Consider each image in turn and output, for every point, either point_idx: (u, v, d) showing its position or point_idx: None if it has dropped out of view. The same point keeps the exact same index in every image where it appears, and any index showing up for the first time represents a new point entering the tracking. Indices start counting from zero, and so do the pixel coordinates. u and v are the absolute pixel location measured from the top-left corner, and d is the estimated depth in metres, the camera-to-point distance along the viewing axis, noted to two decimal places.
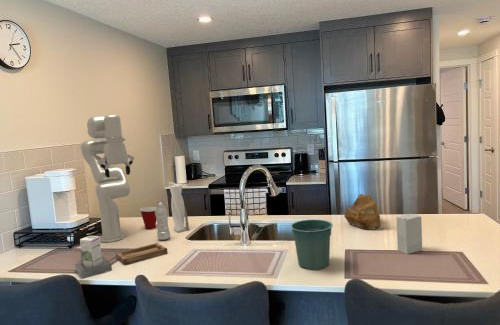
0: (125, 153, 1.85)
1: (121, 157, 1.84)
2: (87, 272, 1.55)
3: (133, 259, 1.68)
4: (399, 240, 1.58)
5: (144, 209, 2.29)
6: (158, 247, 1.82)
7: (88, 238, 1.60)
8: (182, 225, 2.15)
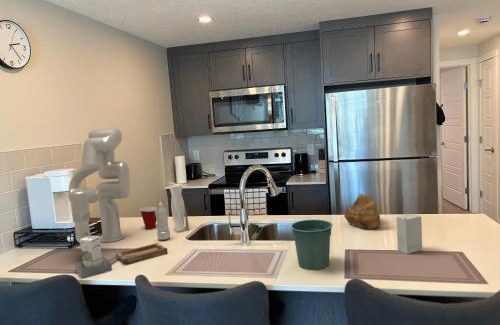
0: None
1: None
2: (87, 272, 1.55)
3: (133, 259, 1.68)
4: (399, 240, 1.58)
5: (144, 209, 2.29)
6: (158, 247, 1.82)
7: (88, 238, 1.60)
8: (182, 225, 2.15)
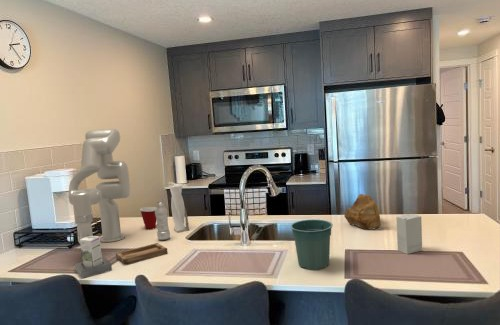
0: None
1: None
2: (87, 272, 1.55)
3: (133, 259, 1.68)
4: (399, 240, 1.58)
5: (144, 209, 2.29)
6: (158, 247, 1.82)
7: (88, 238, 1.60)
8: (182, 225, 2.15)
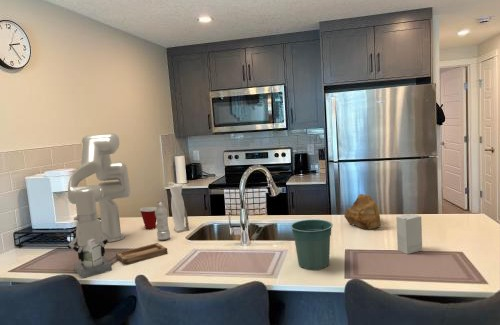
0: None
1: None
2: (87, 272, 1.55)
3: (133, 259, 1.68)
4: (399, 240, 1.58)
5: (144, 209, 2.29)
6: (158, 247, 1.82)
7: None
8: (182, 225, 2.15)
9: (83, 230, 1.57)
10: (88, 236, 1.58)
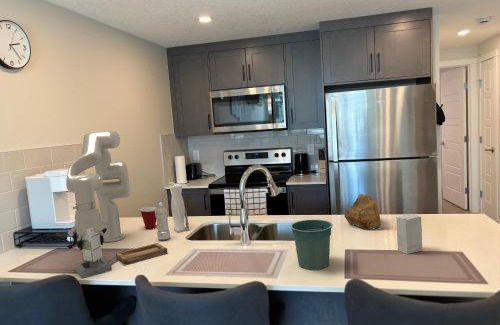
0: None
1: None
2: (87, 272, 1.55)
3: (133, 259, 1.68)
4: (399, 240, 1.58)
5: (144, 209, 2.29)
6: (158, 247, 1.82)
7: None
8: (182, 225, 2.15)
9: (82, 219, 1.57)
10: (87, 225, 1.58)
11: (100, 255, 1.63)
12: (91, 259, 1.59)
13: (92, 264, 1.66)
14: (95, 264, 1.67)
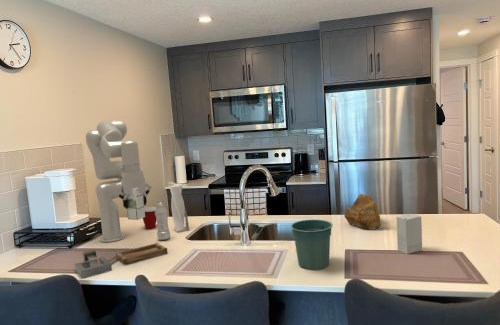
0: None
1: None
2: (87, 272, 1.55)
3: (133, 259, 1.68)
4: (399, 240, 1.58)
5: (144, 209, 2.29)
6: (158, 247, 1.82)
7: None
8: (182, 225, 2.15)
9: (128, 179, 1.69)
10: (132, 185, 1.70)
11: (143, 215, 1.75)
12: (136, 217, 1.71)
13: (92, 264, 1.66)
14: (95, 264, 1.67)
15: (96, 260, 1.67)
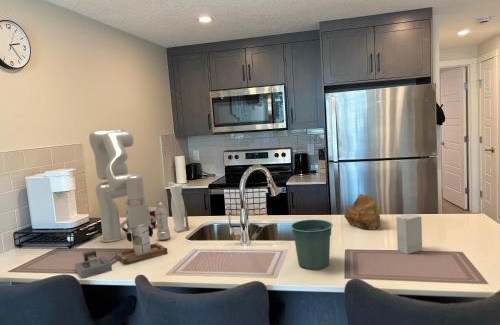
0: None
1: None
2: (87, 272, 1.55)
3: (133, 259, 1.68)
4: (399, 240, 1.58)
5: None
6: (158, 247, 1.82)
7: None
8: (182, 225, 2.15)
9: (133, 213, 1.71)
10: (138, 219, 1.72)
11: (149, 250, 1.77)
12: (142, 253, 1.73)
13: (92, 264, 1.66)
14: (95, 264, 1.67)
15: (96, 260, 1.67)
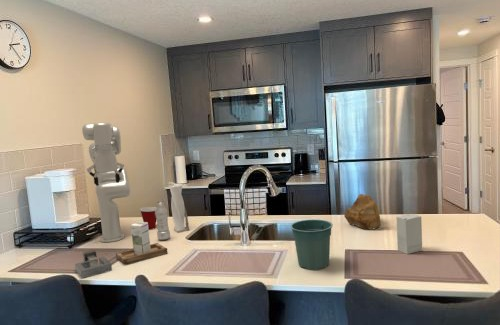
0: None
1: None
2: (87, 272, 1.55)
3: (133, 259, 1.68)
4: (399, 240, 1.58)
5: (144, 209, 2.29)
6: (158, 247, 1.82)
7: (138, 223, 1.75)
8: (182, 225, 2.15)
9: (100, 158, 1.80)
10: (104, 164, 1.81)
11: (149, 250, 1.77)
12: (142, 253, 1.73)
13: (92, 264, 1.66)
14: (95, 264, 1.67)
15: (96, 260, 1.67)
